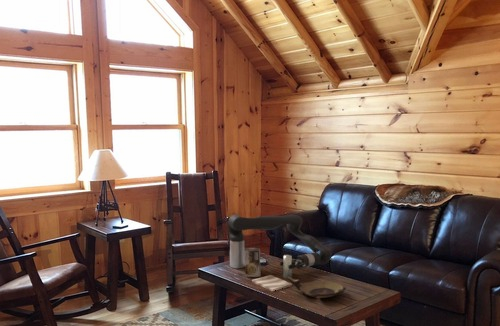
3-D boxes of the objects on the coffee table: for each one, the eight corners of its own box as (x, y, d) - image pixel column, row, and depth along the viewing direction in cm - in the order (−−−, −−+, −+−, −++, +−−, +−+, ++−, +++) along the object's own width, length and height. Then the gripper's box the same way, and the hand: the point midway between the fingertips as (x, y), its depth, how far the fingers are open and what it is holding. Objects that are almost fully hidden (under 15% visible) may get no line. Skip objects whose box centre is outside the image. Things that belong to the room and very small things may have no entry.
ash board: (251, 281, 250) (251, 279, 250) (271, 277, 258) (270, 275, 258) (272, 291, 235) (272, 289, 235) (291, 285, 243) (291, 283, 243)
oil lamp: (329, 308, 212) (329, 293, 211) (282, 293, 233) (282, 279, 232) (353, 295, 228) (353, 281, 227) (307, 282, 249) (307, 269, 248)
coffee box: (260, 273, 265) (260, 247, 264) (260, 277, 259) (259, 250, 258) (246, 273, 266) (245, 247, 265) (244, 276, 260) (244, 250, 259)
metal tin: (281, 277, 258) (281, 255, 257) (288, 275, 261) (287, 254, 260) (287, 279, 254) (286, 257, 253) (293, 277, 257) (293, 256, 256)
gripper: (297, 252, 271) (277, 256, 261) (313, 257, 259) (292, 262, 250) (297, 263, 271) (277, 268, 262) (313, 269, 259) (292, 275, 250)
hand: (284, 265), depth 256 cm, fingers open, 7 cm apart
